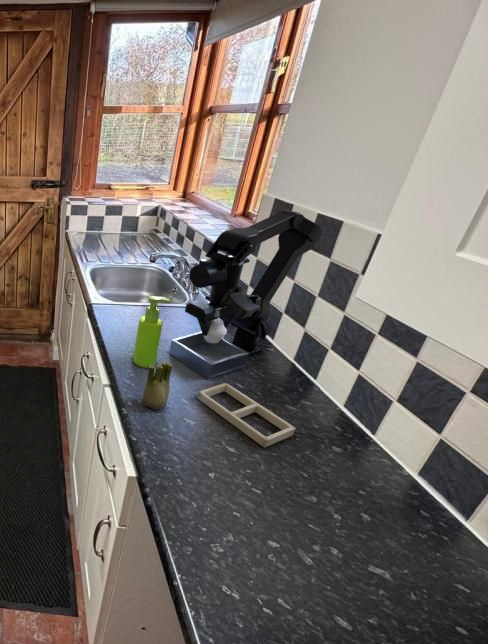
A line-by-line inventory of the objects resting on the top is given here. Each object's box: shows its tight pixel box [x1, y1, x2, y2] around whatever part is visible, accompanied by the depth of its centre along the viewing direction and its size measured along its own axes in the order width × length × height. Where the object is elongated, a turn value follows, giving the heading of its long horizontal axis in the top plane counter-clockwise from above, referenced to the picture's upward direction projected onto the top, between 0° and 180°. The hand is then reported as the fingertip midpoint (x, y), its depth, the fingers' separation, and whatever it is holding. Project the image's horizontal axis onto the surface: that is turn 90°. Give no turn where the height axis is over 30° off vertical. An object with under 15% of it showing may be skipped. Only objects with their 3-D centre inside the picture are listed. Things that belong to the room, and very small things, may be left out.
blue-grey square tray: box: [168, 331, 249, 380], centre depth 113 cm, size 14×14×5 cm
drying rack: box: [196, 382, 297, 448], centre depth 93 cm, size 9×17×2 cm, turn 22°
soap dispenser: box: [132, 296, 172, 369], centre depth 110 cm, size 6×7×20 cm
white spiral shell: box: [204, 317, 228, 343], centre depth 110 cm, size 6×6×7 cm
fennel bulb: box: [142, 361, 174, 411], centre depth 95 cm, size 6×5×12 cm
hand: (213, 332), depth 110 cm, fingers closed on white spiral shell, 6 cm apart
